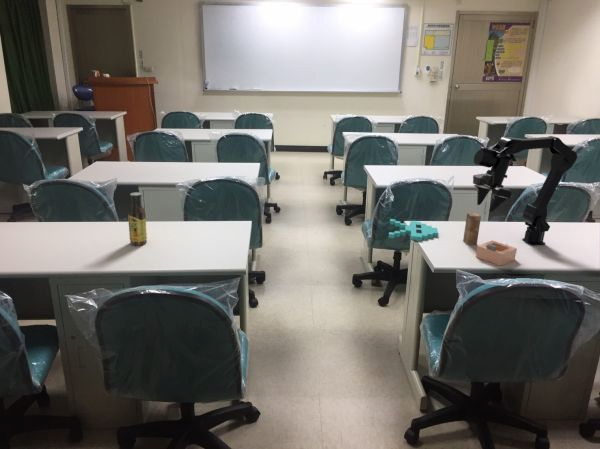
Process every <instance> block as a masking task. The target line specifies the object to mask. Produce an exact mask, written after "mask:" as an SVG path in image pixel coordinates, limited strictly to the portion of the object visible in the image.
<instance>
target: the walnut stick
mask: <svg viewBox="0 0 600 449" xmlns="http://www.w3.org/2000/svg"><path fill="white" fill-rule="evenodd" d="M481 219H482V216H481V215H480V214H478V213H477V212H474V213H473V212H467V213H466V218H465V226H464V233H463V237H462V238H463V240H462V241H463V242H464V243H465V245H469V246H472V245H473V246H475V245H477V244H478V239H479V232H480V226H481ZM477 246H478V245H477Z"/></svg>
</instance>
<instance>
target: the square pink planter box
mask: <svg viewBox="0 0 600 449" xmlns="http://www.w3.org/2000/svg"><path fill="white" fill-rule="evenodd" d="M517 251H518V250H517V248H516V247H515V246H510V245H508V244H505V243H502V242H498V241H496V240H493V239H492V240H490V241H487V242H484V243H482V244H479V245H477V249H476V252H475V253H476V256H475V258H477V259H480V260H483V261H486V262H489V263H492V264H494V265H498V266H503V265H505V264H508V263H511V262H512V261H515V260H516V255H517Z"/></svg>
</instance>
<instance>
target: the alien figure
mask: <svg viewBox="0 0 600 449" xmlns="http://www.w3.org/2000/svg"><path fill="white" fill-rule="evenodd" d="M409 222H410V224H409V225H407V224H406V223H401V221H399V220H398V221H397V220H396V219H395V218H394V219H392V218H390V219H389V225H392V226H393V225H394V227H395V228H396V227H399V230H394V232H388V239H392V240H393V239H395V238H400V236H402V237H406V235H410V236H409V237H410V241H416V242H422V240H424V241H425V240H426V241H427V240H428V239H433V238H438V236H439V230H438V227H433V226H432V225H429V224H427V223H422V222H421V221H419V220H418V221H417V220H410V221H409Z"/></svg>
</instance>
